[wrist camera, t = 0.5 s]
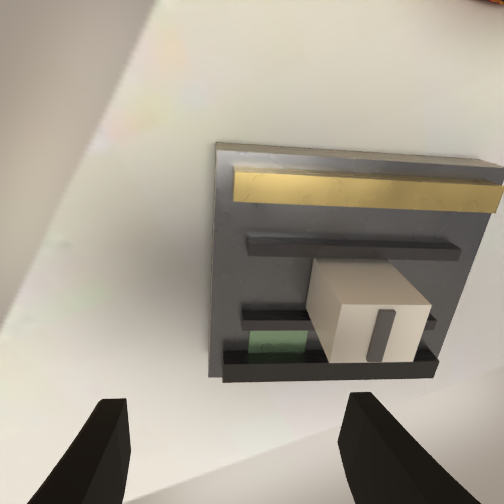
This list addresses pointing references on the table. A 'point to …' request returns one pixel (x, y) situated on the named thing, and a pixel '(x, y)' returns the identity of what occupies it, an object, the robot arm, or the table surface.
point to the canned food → (498, 1)
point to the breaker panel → (334, 249)
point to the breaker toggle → (365, 311)
